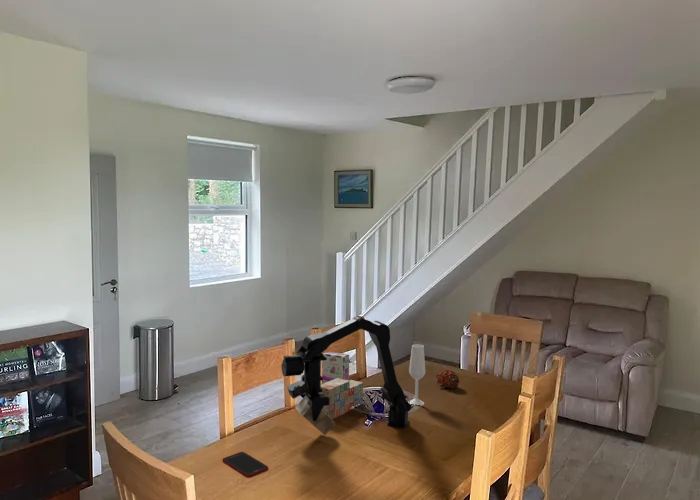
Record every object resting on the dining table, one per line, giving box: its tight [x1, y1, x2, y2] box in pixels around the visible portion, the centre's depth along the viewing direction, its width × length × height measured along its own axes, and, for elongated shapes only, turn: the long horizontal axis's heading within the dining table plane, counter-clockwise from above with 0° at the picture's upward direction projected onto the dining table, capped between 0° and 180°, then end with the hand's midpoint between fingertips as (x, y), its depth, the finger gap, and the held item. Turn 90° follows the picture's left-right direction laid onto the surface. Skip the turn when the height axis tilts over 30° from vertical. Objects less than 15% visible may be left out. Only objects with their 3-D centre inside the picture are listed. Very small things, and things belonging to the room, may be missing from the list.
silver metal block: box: [294, 396, 336, 436], centre depth 184 cm, size 6×6×13 cm
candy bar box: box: [321, 351, 350, 384], centre depth 232 cm, size 11×5×16 cm, turn 62°
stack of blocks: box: [318, 378, 364, 420], centre depth 210 cm, size 21×6×12 cm, turn 142°
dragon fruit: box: [435, 369, 461, 390], centre depth 240 cm, size 8×8×12 cm
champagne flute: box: [408, 343, 426, 407], centre depth 219 cm, size 7×7×24 cm
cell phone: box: [222, 451, 269, 478], centre depth 164 cm, size 8×15×1 cm, turn 45°
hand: (311, 417), depth 184 cm, fingers closed on silver metal block, 5 cm apart
